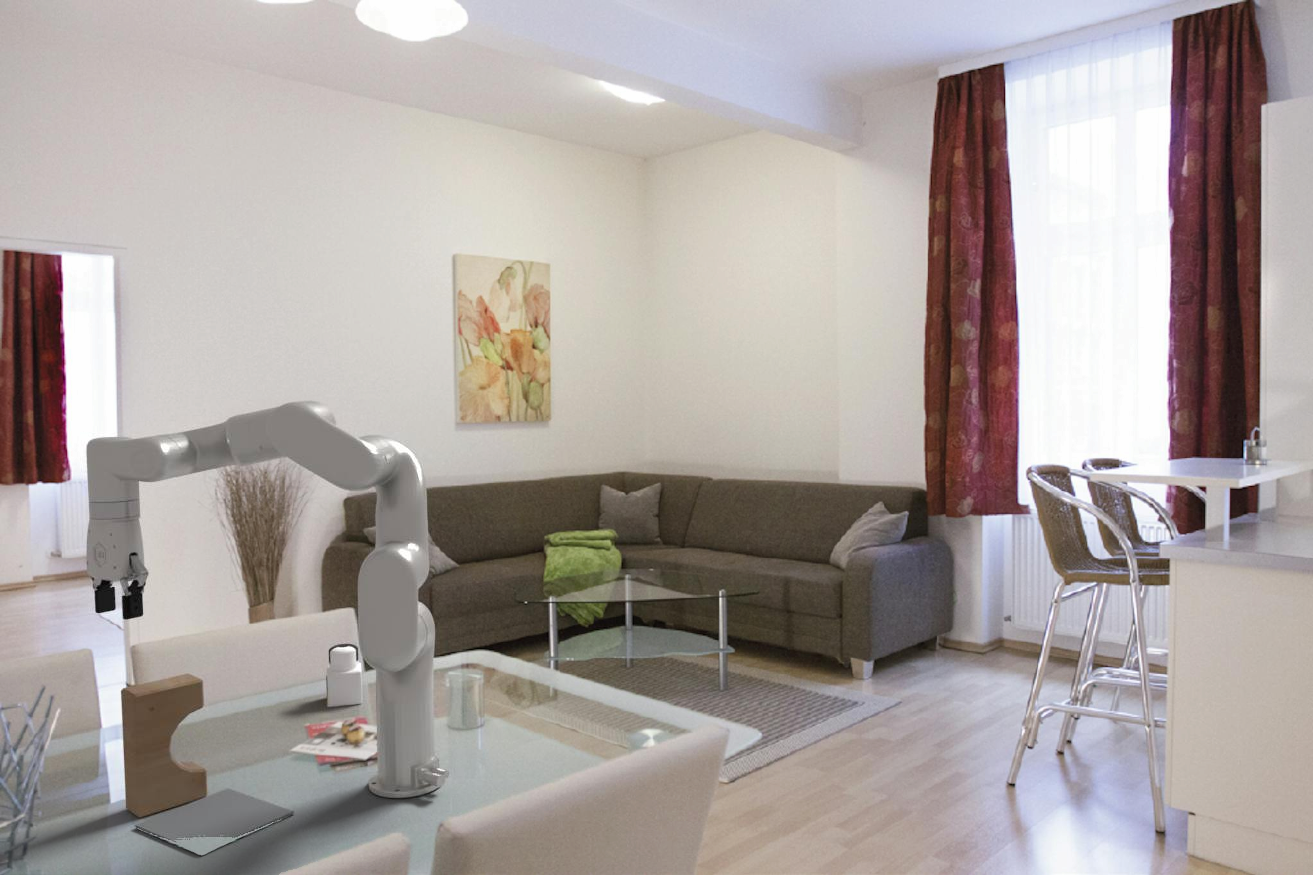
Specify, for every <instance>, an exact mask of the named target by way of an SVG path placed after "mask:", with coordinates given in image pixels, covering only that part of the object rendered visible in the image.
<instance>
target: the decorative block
mask: <svg viewBox="0 0 1313 875" xmlns="http://www.w3.org/2000/svg"><path fill="white" fill-rule="evenodd" d="M204 694H205V693H204V680H203V679H201V678H199V677H197V676H194V675H193V674H190V673H184V674H181V675H175V676H171V677H167V678H162V679H159V680H154V681H150V682H145V683H140V684H136V685H131V686H126V687H123V688H122V689H121V690H120V700H121V701H120V702H121V720H122V723H121V724H122V725H121V726H122V742H123V743H122V745H123V746H122V748H123V768H124V791H125V809H126V810H127V811H129V812H131V814H133V815H135V816H136V817H138V818H140V819H142V818H145V817H148V816H151V815H154V814H158V813H161V812H164V811H166V810H170V809H173V808H176V807H181V806H184V805H187V804H189V803H192V802H194V801H197V800H199V799H202V798H204V797H207V796H208V778H207V777H208V776H207V773H208V772H207V769H206V768H204V767H202V766H200V765H198V764H197V763H195V762H193V761H182V762H179V761H177V760H176V759H174V757H173V753H172V750H171V745H172V739H173V738H172V736H173V735H174V733H175V732H176V731H177V729H178V727H179V725H180V724H181V723H182V722H183V721H184V720H185V719H186V718H187V717H188V716H189V715H190V714H192V713H195V712H197V711H199V710H201V709H203V707H204V706H205V698H204V696H205V695H204Z"/></svg>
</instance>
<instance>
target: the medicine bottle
mask: <svg viewBox="0 0 1313 875" xmlns="http://www.w3.org/2000/svg"><path fill="white" fill-rule="evenodd" d="M325 672H326V676H325V677H326V678H325V680H326V681H325V683H326V707H327V708H334V707H335V708H337V707H343V706H344V707H346V706H352V705H353V706H355V705H362V704H363V677H362V676H363V675H362V663H361V662H359V647H358V646H357V645H355V644H353V643H340V644H336V645H333V646H332V647H330V648H329V649H328V665H327V666H326V670H325Z"/></svg>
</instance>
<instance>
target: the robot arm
mask: <svg viewBox="0 0 1313 875" xmlns="http://www.w3.org/2000/svg"><path fill="white" fill-rule="evenodd" d="M85 454H86V473H87V475H86V476H87V494H88V515H89V516H88V518H89V519H88V525H87V535H86V557H85V558H86V559H85V561H86V563H85V564H86V573H87V575H88V576H89V577H90V578H91V580H92V589H93V591H94V592H93V593H94V608H95V609H94V612H95V613H97V614H104V613H107V612H108V613H109V612H113V611H115V610H116V608H117V607H116V606H117V604H116V588H115V586H113V583H114V582H119V583H120V586H121V588H122V591H123V593H124V595H121V609H122V610H121V613H122V619H123V620H126V621H127V620H130V619H131V620H132V619H136V618H141V617H143V615H144V602H143V596H144V595H143V594H144V593H145V586H146V583H147V582H146V581H147V579H148V577H149V574H150V572H149V570H148V569H147V568H146V566H145V552H144V551H145V550H144V542H143V534H142V527H141V524H140V519H141V508H140V507H141V502H140V501H141V500H140V482H144V483H156V482H161V481H166V480H169V479H173V478H179V477H183V476H188V475H192V474H196V473H201V472H206V471H211V470H214V469H220V468H225V467H230V466H239V467H244V466H250V465H253V464H254V465H256V464H259V463H264V462H269V461H273V460H278V459H282V458H288V459H289V460H290V461H293V462H294V463H296V464H297V465H299V466H300V467H303V468H305V469H306V470H308V471H310V472H311V473H313V474H314V475H317V476H318V477H320V478H321V479H323V480H325V481H326V482H328V483H330V484H331V485H334V486H336V487H338V488H340V489H343V490H345V491H349V492H355V493H356V492H357V493H358V492H363V491H364V492H365V491H366V490H367V491H368V490H369V489H371V488H374V489H375V492H376V505H375V515H374V516H375V544H374V549H373V550H372V551H371V552H370V553H369V554H367V556H366V557H365V558H364V560H363V562H362V564H361V566H360V569H359V573H358V579H357V614H358V615H357V616H358V617H357V619H358V620H357V622H358V624H357V625H358V644H359V650H360V653H361V656H362V658H363V659H364V661H365V663H366V664H368V665H369V667H371V668H372V669H374V670H375V709H376V710H375V711H376V712H375V713H376V718H375V719H376V743H377V744H376V745H377V746H376V748H377V749H376V750H377V771H376V772H375V773H373V774H372V775H371V776H370V778H369V779H368V789H369V790H370V792H372V793H373V794H374V795H377V796H379V797H383V798H388V799H404V798H405V799H407V798H414V797H418V796H422V795H426V794H428V793H432V792H433V791H435V790H437V789H438V788H441V787H443V785H444V784H445V782H446V780H447V779H448V778H449V776H450V771H449V770H448V769H444V768H442V767H440V757H437V756H436V754H435V753H436V752H435V750H436V749H435V745H436V743H435V713H434V712H435V711H434V710H435V709H434V703H435V702H434V693H435V692H434V691H435V690H434V687H435V686H434V665H435V664H434V663H435V661H434V657H435V644H436V628H435V627H436V626H435V621H434V620H435V619H434V617H433V614H432V613H431V610H430V609H429V608H428V607H427V606H426V605H425V604H424V603H423V602H420V601H419V589H420V588H421V587H422V586H423V585H424V583H425V582H426V580H427V579H428V576H429V573H430V555H429V554H430V553H429V525H428V524H429V520H428V494H427V493H428V492H427V490H428V489H427V483H426V478H425V473H424V471H423V468H422V465H421V464H420V462H419V460H418V459H417V457H416V456H415V454H414V453H413V451H411V450H410V449H409V448H407V447H406V446H405V445H404V444H402V443H400V442H399V441H397V440H396V439H393V438H390V437H387V436H384V435H379V434H368V435H362V436H360V437H357V436H355V435H353V434H351V433H350V432H348V431H346V430H345V429H343V428H341V427H340V426H338V425H337V421H336V417H335V415H334V413H333V411H332V409H330V408H329V407H328V406H327V405H325V404H323V403H322V402H320V401H315V400H303V401H301V400H300V401H291V402H287V403H283V404H281V405H279V406H276V407H271V408H267V409H261V410H257V411H251V412H248V413H242V414H236V415H233V416H231V417H228V419H227V420H226V421H224V422H221V423H217V424H213V425H210V426H205V427H200V428H196V429H191V430H186V431H180V432H174V433H165V434H158V435H151V436H144V437H137V438H132V437H129V436H105V437H104V436H103V437H95V438H92V439H90V440H89V441H88V442H87V444H86V453H85ZM129 582H131V583H130V585H129Z"/></svg>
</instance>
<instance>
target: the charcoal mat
mask: <svg viewBox="0 0 1313 875" xmlns="http://www.w3.org/2000/svg"><path fill="white" fill-rule="evenodd" d="M294 813H295V812H294V810H291V809H289V808H286V807H282V806H280V805H276V804H275V803H271V802H268V801H265V800H262V799H260V798H257V797H254V796H251V795H249V794H246V793H244V792H239V791H237V790H234V789H231V788H229V787H228V788H227V787H226V788H225V789H222V790H220V791H217V792H214V793H213V794H210V795H207V796H206V797H204V798H201V799H198V800H195V801H192V802H189V803H186V804H183V805H181V806H178V808H174V809H172V810H169V811H167V812H164V813H163V814H159V815H156V816H154V817H152V818H149V819H147V820H144V821H142V822H139V823H137V824H134V828H135V827H136V828H139V829H141V830H143V831H146V832H148V833H152V834H153V835H157V836H158V837H162V838H166V839H168V840H172V841H174V840H183V839H177V838H184V837H185V838H193V837H197V838H198V837H202V838H203V837H225V838H226V837H232V838H233V837H234V838H235V837H238V836H240V835H243V834H245V833H248V832H251V831H254V830H255V829H258V828H261V827H263V826H265V825H267V824H270V823H272V822H275V821H277V820H280V819H284V818H286V817H288V818H290V817H291V816H290V815H292V816H294V815H293V814H294ZM289 816H290V817H289ZM286 819H287V818H286ZM284 820H285V819H284ZM199 835H200V836H199ZM204 835H205V836H204ZM220 835H221V836H220ZM222 835H223V836H222ZM185 840H186V839H185ZM187 840H188V839H187ZM189 840H190V839H189ZM174 842H176V841H174Z"/></svg>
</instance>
